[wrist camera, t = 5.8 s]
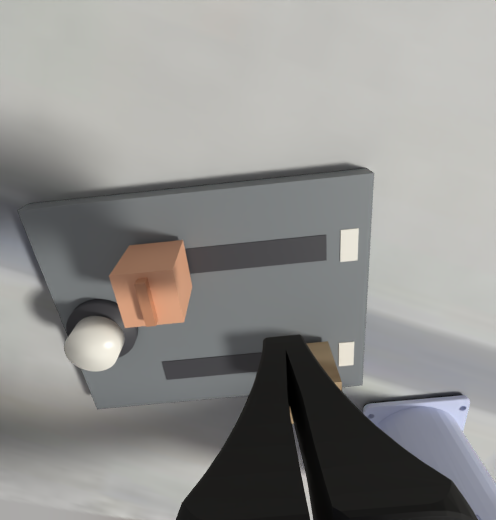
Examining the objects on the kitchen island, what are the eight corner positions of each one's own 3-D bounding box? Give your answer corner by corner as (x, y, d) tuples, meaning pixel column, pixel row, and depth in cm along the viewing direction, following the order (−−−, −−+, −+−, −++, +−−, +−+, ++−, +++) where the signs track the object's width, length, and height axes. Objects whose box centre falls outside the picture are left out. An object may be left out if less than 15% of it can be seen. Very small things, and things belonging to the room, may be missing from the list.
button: (130, 353, 23) (123, 369, 21) (82, 357, 23) (73, 373, 21) (117, 313, 21) (109, 328, 20) (67, 318, 21) (56, 333, 20)
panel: (357, 372, 27) (365, 391, 25) (102, 396, 27) (94, 416, 25) (366, 168, 20) (377, 175, 18) (29, 203, 20) (10, 214, 19)
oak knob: (327, 376, 25) (343, 426, 21) (284, 380, 25) (291, 431, 21) (327, 341, 23) (344, 388, 20) (281, 345, 23) (289, 393, 20)
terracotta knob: (192, 286, 21) (182, 328, 18) (141, 291, 21) (122, 334, 18) (183, 239, 20) (170, 274, 16) (129, 245, 20) (105, 281, 16)
